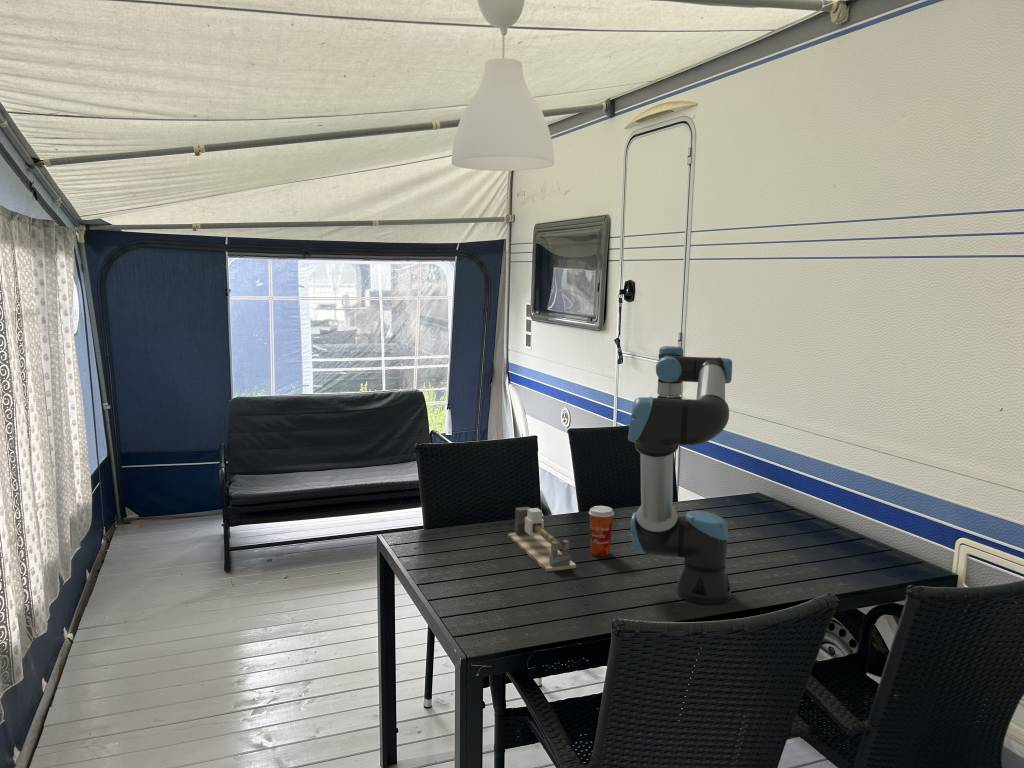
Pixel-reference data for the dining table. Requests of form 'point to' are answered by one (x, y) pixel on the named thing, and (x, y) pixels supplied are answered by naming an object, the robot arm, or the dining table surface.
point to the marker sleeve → (533, 520)
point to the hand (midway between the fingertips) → (666, 468)
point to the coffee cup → (600, 530)
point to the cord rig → (541, 545)
